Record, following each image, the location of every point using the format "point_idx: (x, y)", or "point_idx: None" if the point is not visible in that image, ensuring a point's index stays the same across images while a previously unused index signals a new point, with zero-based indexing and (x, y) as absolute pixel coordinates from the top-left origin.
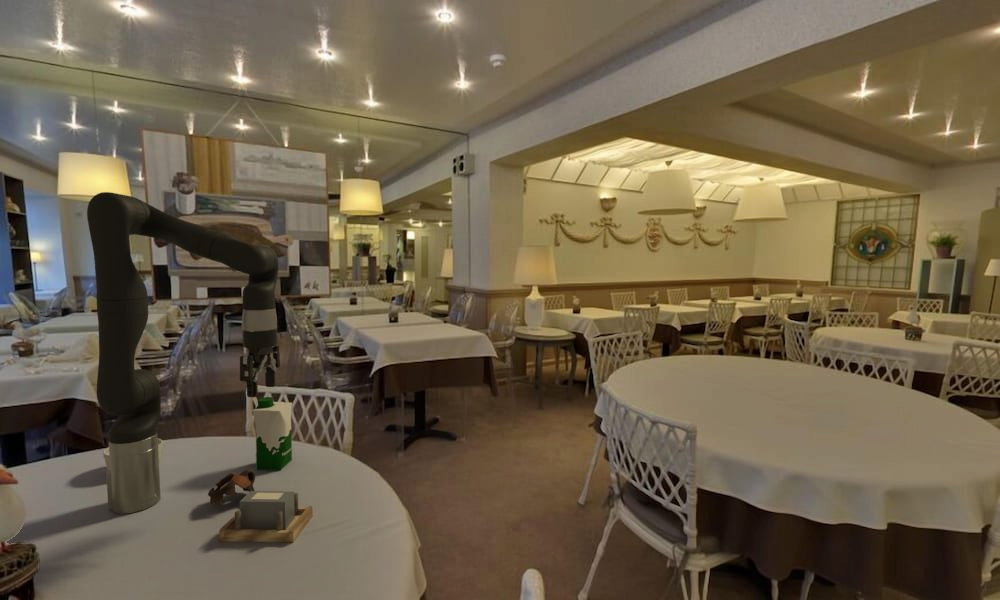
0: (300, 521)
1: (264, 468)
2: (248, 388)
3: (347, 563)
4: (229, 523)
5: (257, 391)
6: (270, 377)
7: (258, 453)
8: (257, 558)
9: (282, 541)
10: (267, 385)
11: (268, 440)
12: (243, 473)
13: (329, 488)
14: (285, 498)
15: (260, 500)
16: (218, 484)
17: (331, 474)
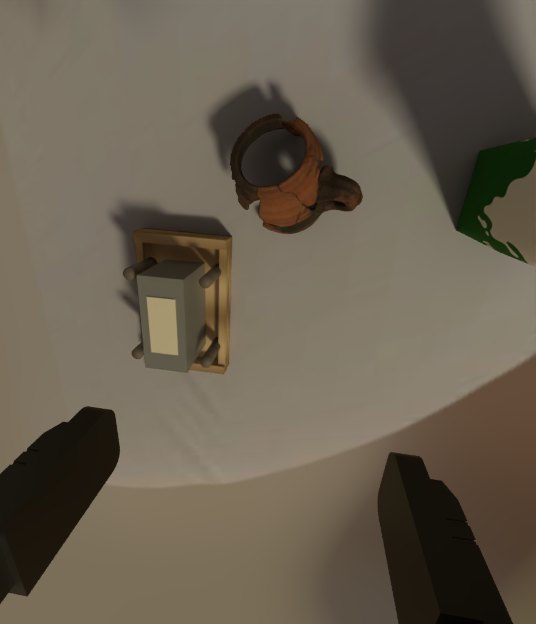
0: None
1: (472, 180)
2: (5, 484)
3: (118, 429)
4: (155, 241)
5: (93, 494)
6: (404, 580)
7: (498, 161)
8: (110, 314)
9: None
10: (391, 469)
11: (506, 208)
12: (327, 189)
13: (333, 370)
14: (158, 364)
15: (145, 318)
16: (294, 128)
17: (402, 362)
